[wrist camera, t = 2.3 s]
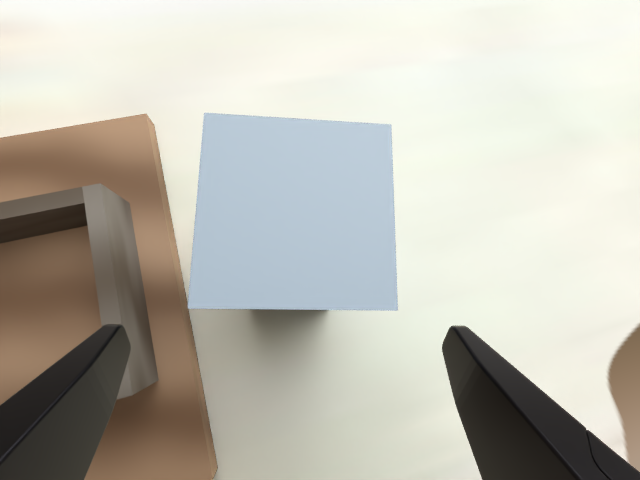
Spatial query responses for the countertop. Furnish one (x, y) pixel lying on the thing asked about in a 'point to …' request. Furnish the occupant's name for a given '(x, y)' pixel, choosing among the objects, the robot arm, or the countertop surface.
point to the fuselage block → (294, 215)
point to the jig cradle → (102, 288)
